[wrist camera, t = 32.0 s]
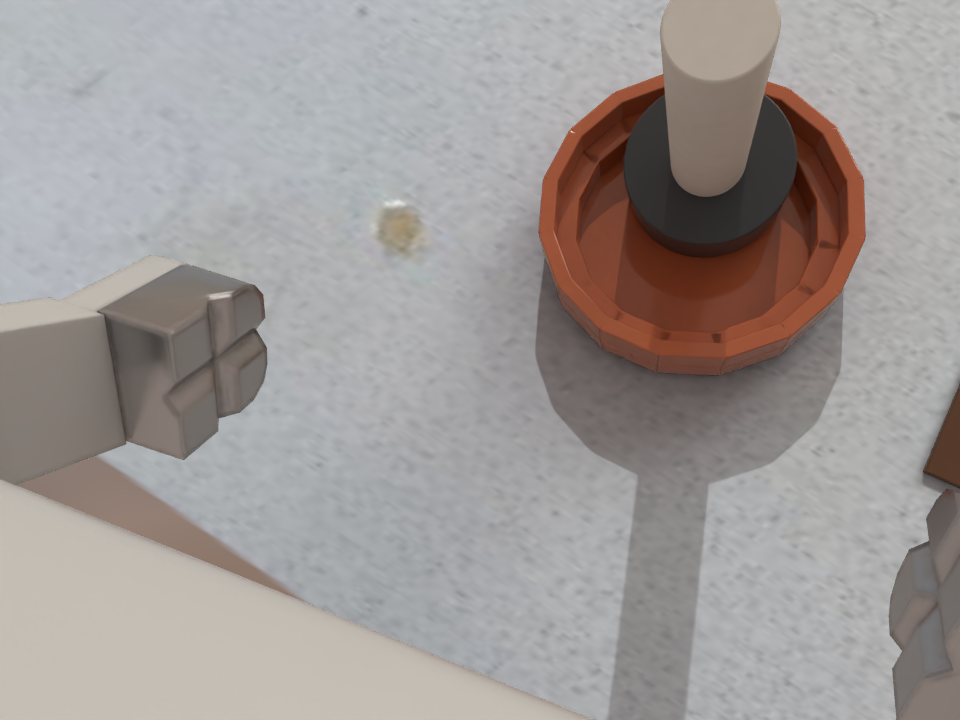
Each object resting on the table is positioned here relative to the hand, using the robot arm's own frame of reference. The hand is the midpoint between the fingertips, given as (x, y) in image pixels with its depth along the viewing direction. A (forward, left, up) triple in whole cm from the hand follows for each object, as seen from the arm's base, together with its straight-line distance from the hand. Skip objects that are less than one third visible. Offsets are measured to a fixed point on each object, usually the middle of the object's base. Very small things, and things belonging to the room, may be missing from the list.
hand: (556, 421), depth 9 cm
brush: (+14, +2, -20) cm, 25 cm away
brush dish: (+12, +2, -21) cm, 25 cm away
